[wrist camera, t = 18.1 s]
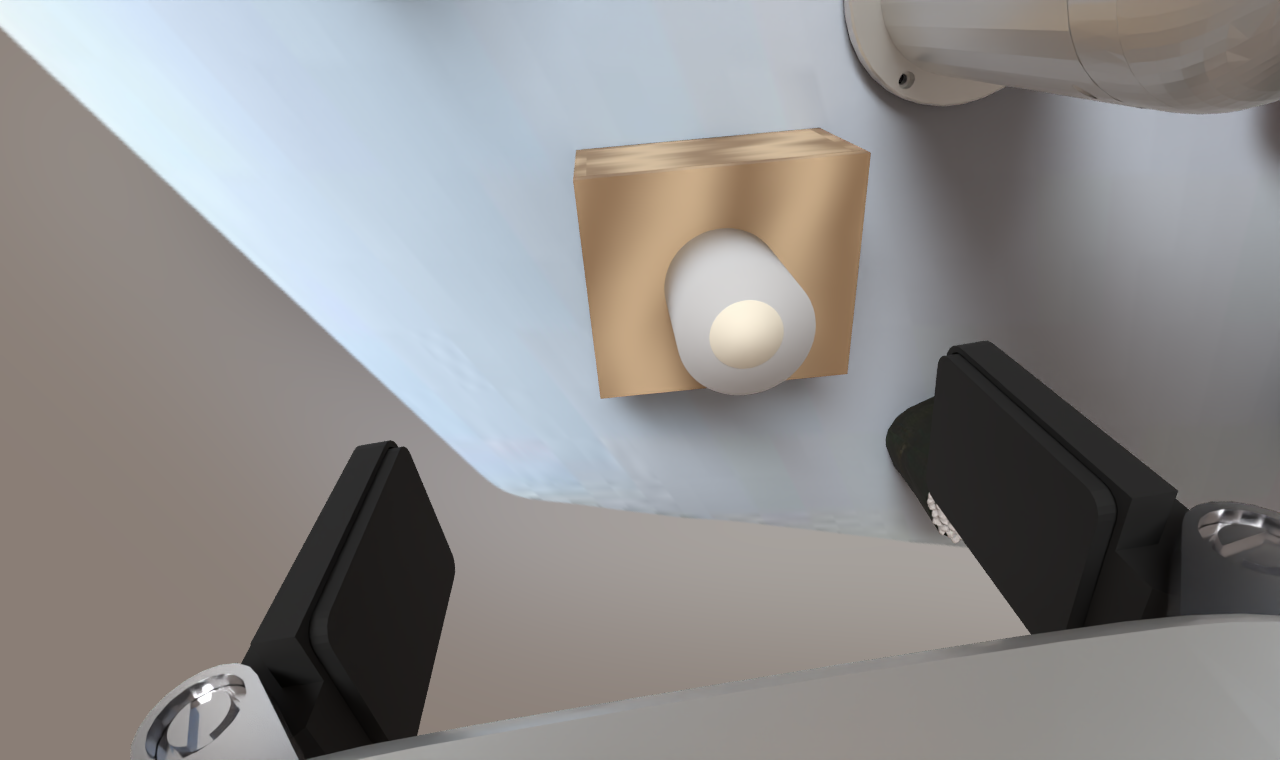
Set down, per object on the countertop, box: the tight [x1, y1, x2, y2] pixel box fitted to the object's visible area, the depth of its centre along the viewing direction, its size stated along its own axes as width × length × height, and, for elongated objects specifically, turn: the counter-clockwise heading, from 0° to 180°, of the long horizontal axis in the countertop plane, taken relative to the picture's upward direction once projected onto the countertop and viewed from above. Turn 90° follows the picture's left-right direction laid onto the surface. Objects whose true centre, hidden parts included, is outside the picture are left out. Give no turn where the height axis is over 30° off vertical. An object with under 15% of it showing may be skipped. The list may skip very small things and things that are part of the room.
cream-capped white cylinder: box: [664, 228, 816, 395], centre depth 30 cm, size 6×6×6 cm
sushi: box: [886, 396, 962, 544], centre depth 44 cm, size 8×8×8 cm
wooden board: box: [573, 150, 871, 399], centre depth 33 cm, size 14×12×1 cm
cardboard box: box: [574, 128, 865, 177], centre depth 36 cm, size 14×12×7 cm
